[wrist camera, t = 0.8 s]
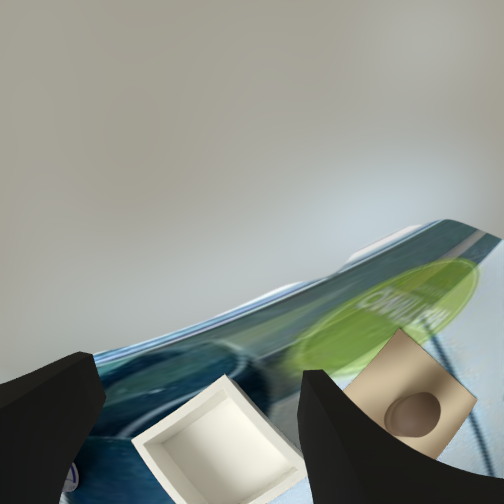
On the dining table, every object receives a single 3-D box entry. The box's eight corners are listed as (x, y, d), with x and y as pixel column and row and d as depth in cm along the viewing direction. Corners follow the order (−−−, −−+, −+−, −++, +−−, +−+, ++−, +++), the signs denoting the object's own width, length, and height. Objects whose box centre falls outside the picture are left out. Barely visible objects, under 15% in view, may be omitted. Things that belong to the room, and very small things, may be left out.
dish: (311, 462, 17) (314, 470, 14) (219, 521, 14) (205, 535, 11) (236, 382, 22) (224, 374, 19) (153, 440, 20) (131, 440, 17)
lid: (473, 401, 17) (500, 393, 13) (392, 500, 13) (410, 513, 10) (396, 331, 23) (413, 311, 19) (306, 424, 20) (308, 424, 16)
